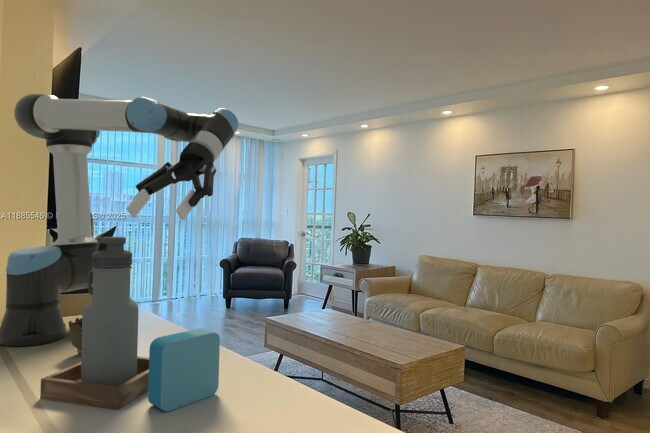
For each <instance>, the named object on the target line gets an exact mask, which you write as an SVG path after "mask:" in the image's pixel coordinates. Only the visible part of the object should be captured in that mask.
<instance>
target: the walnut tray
mask: <svg viewBox="0 0 650 433" xmlns="http://www.w3.org/2000/svg"><path fill="white" fill-rule="evenodd" d="M148 386H149V357H147V356H145V357H144V356H138V355H137V376H136V377H134V378H132V379H130V380H128V381H126V382H125V383H123V384H121V385H119V386H117V387H115V386H107V385H100V384H93V383H86V382H81V361H80V362H77V363H75V364H73V365H71V366H68V367H65V368H63V369H61V370H59V371H56V372H54V373H52V374H49V375H47V376H45V377H42V378H40V392H39V394H40V395H39V397H40V399H43V400H50V401H56V402H63V403H68V404H69V403H70V404H76V405H83V406H88V407H89V406H90V407H95V408H96V407H97V408H103V409H108V410H109V409H111V410H114V411H115V410H116V411H118V410H120V409H121V408H122V407H124V406H126V405H128V404H129V403H131V402H133V401H134V400H135V399H137V398H138V397H140V396H142V395H144V394H145V393H148Z"/></svg>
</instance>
